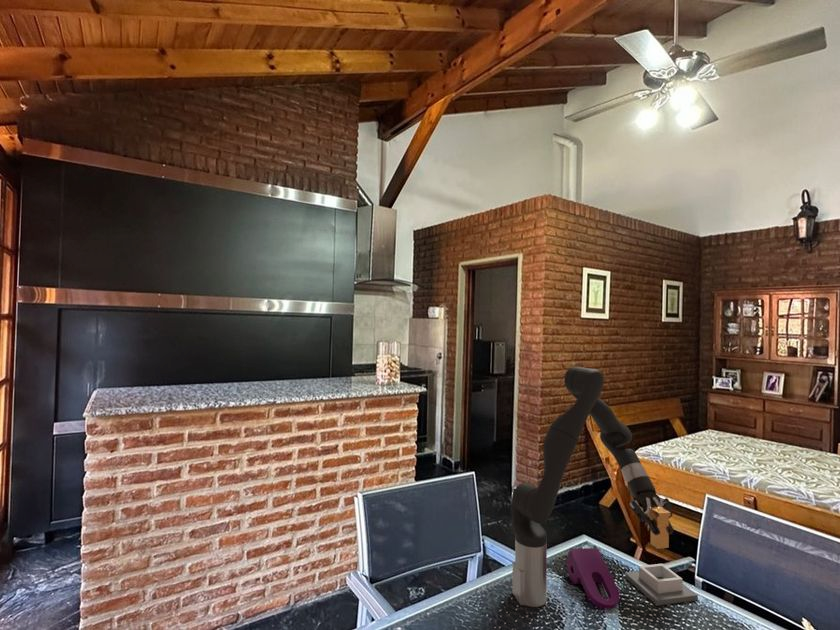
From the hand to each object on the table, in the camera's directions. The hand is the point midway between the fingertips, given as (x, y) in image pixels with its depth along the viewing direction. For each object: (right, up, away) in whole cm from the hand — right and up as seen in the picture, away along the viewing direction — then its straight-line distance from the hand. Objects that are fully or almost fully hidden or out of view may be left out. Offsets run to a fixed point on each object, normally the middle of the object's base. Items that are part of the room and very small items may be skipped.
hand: (664, 533), depth 134 cm
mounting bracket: (-22, -18, 0) cm, 28 cm away
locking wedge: (0, -5, +2) cm, 5 cm away
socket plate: (0, -18, +1) cm, 18 cm away
